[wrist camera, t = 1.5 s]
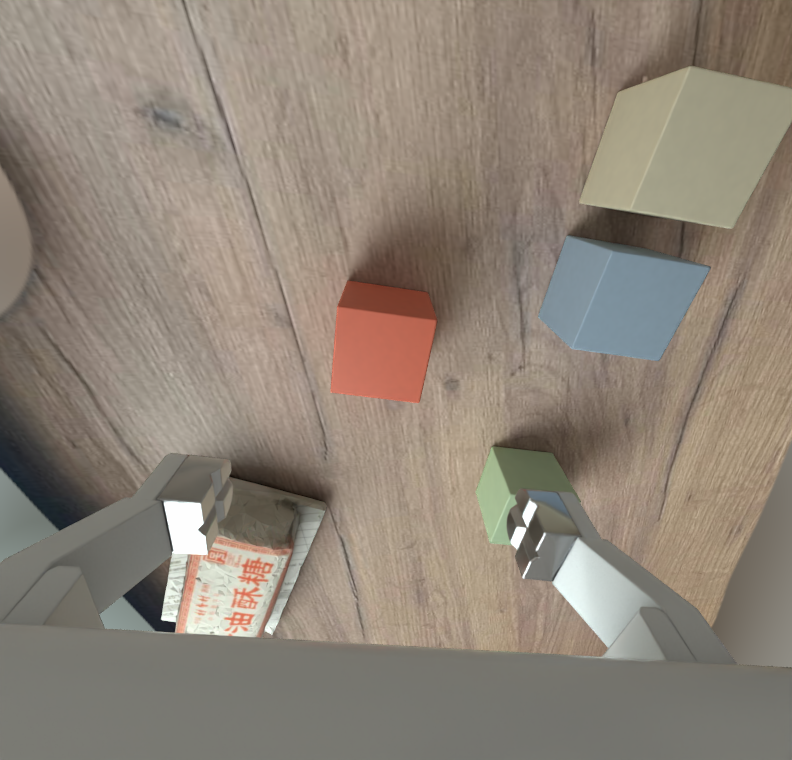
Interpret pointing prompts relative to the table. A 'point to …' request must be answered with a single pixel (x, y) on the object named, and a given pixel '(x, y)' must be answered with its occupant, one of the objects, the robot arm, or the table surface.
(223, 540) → the packaged product
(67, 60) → the table surface
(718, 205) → the cream block
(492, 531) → the sage block
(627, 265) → the blue-grey block
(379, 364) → the coral block
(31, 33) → the table surface
